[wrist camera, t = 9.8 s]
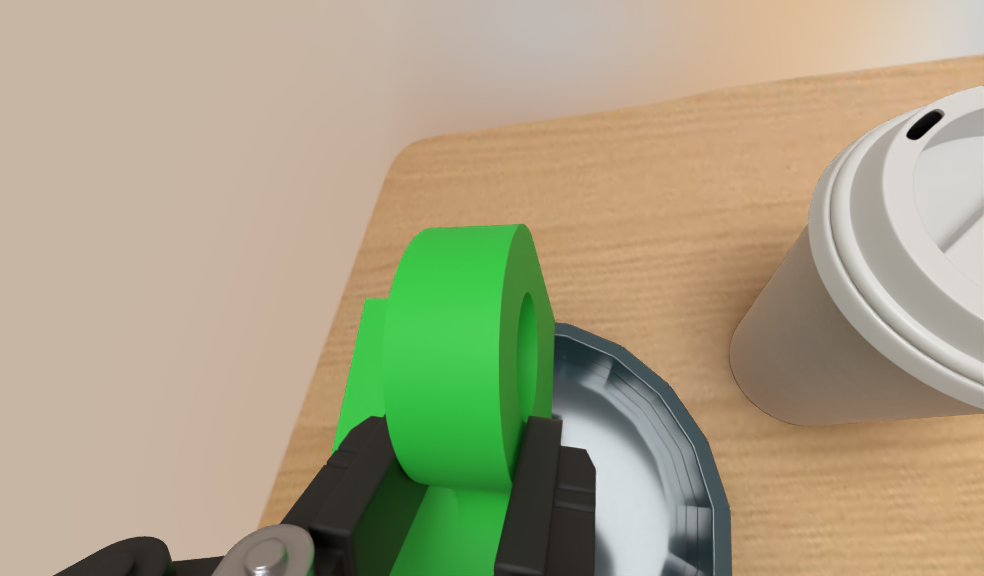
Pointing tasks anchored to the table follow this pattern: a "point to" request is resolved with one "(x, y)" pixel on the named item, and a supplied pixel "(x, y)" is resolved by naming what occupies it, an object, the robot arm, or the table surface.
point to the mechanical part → (456, 384)
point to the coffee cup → (880, 281)
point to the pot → (640, 463)
